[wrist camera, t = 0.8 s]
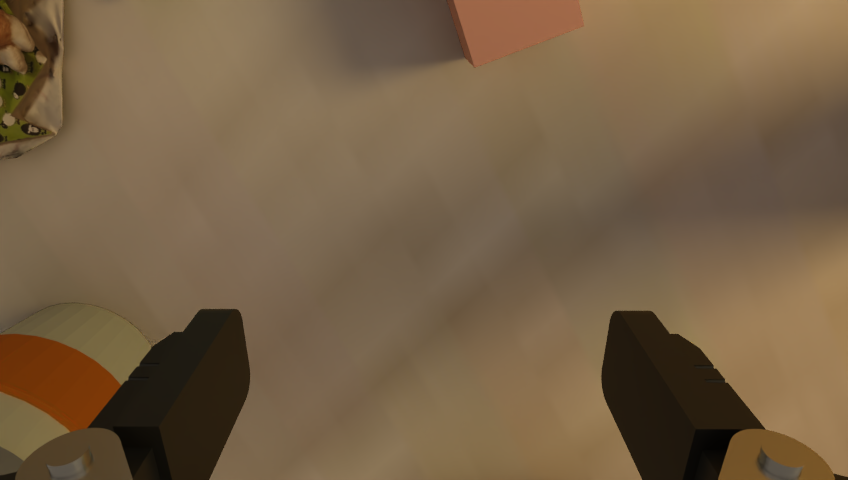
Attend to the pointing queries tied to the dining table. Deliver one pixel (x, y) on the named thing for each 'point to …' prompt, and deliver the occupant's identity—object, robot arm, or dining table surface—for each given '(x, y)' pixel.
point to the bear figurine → (30, 73)
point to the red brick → (510, 25)
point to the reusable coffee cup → (60, 374)
